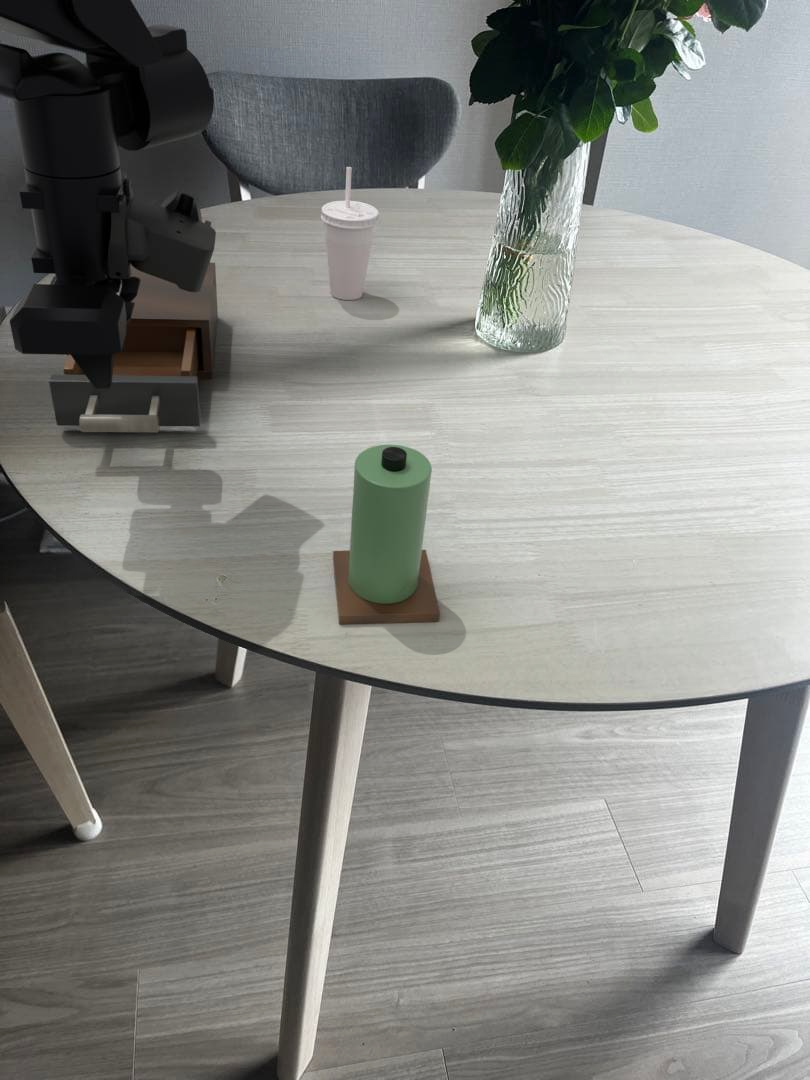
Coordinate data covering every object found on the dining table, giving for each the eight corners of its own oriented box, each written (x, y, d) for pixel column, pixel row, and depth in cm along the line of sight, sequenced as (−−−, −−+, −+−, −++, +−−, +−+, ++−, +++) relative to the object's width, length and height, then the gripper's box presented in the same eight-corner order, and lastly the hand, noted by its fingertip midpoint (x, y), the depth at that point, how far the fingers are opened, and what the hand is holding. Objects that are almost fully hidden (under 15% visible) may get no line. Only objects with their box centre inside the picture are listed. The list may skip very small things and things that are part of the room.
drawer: (196, 456, 74) (193, 411, 72) (46, 456, 73) (37, 410, 70) (206, 359, 88) (204, 317, 85) (79, 356, 86) (73, 314, 83)
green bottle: (422, 603, 63) (438, 475, 56) (350, 605, 62) (358, 475, 55) (412, 557, 67) (427, 432, 60) (345, 558, 66) (352, 432, 59)
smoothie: (352, 278, 108) (358, 157, 99) (385, 298, 104) (394, 174, 96) (308, 288, 105) (310, 164, 96) (340, 309, 101) (345, 181, 92)
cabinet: (212, 378, 86) (209, 319, 83) (70, 376, 84) (60, 316, 81) (217, 317, 97) (215, 262, 93) (91, 314, 95) (83, 258, 91)
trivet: (338, 624, 62) (339, 615, 61) (332, 558, 67) (333, 550, 66) (438, 621, 63) (440, 613, 62) (425, 557, 68) (426, 549, 67)
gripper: (196, 223, 50) (210, 457, 60) (210, 131, 64) (220, 332, 74) (-16, 214, 48) (34, 457, 58) (48, 122, 63) (79, 329, 72)
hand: (103, 386), depth 66 cm, fingers closed
